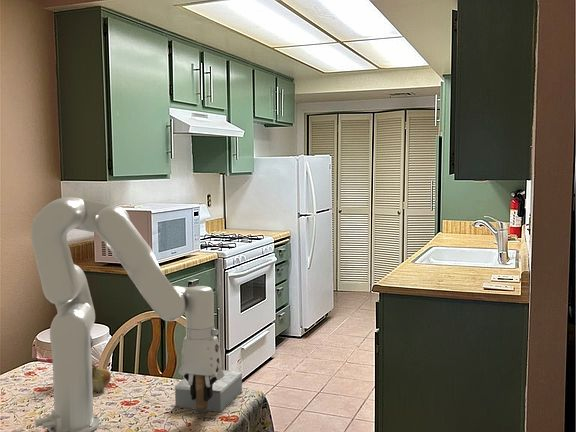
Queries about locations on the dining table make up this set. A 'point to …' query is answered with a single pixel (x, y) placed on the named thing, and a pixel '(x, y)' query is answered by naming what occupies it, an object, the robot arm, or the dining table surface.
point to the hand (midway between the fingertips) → (201, 398)
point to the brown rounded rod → (200, 395)
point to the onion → (100, 378)
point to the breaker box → (222, 392)
